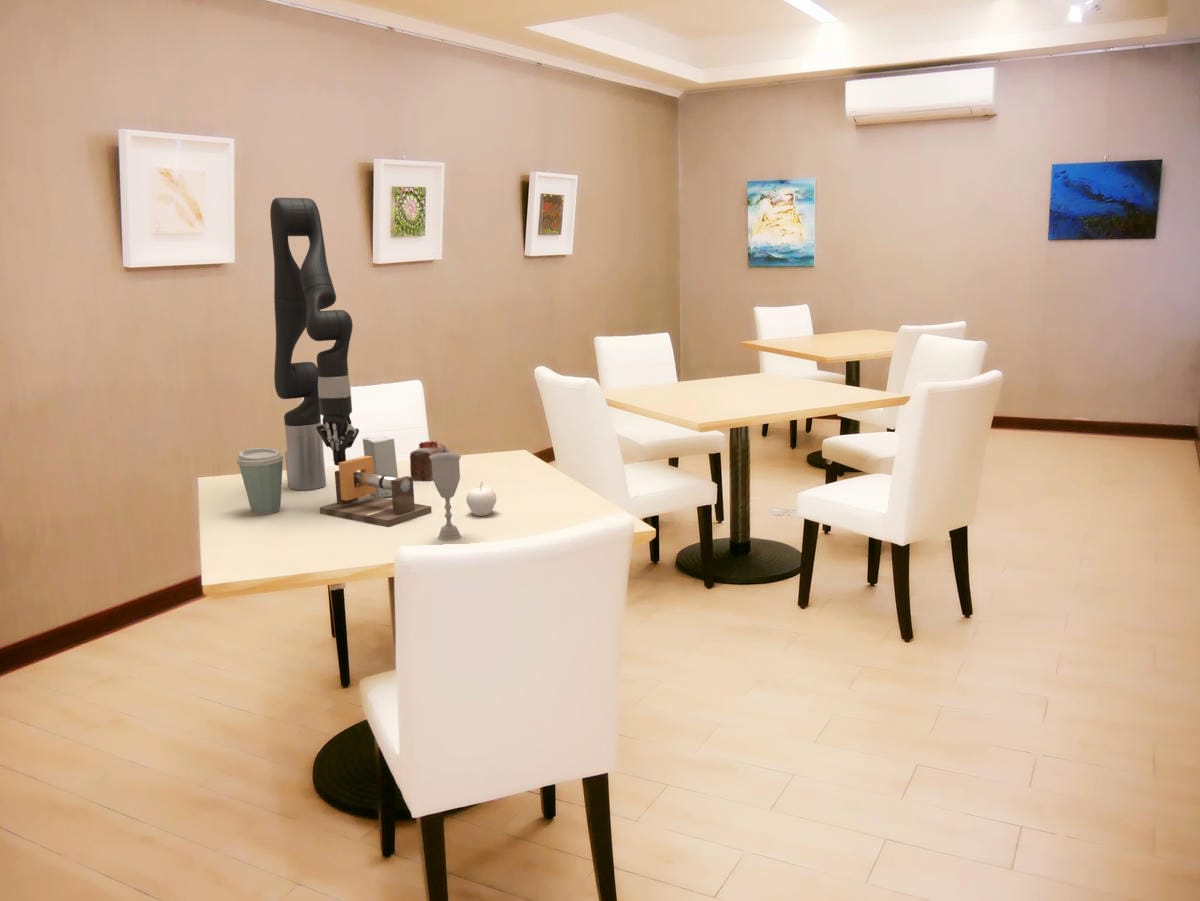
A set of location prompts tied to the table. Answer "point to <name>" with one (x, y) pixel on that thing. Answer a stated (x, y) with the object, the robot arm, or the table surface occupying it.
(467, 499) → the plain white apple
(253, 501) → the disposable coffee cup
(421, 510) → the pipe stand
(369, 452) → the skincare box
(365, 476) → the pipe
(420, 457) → the food item
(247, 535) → the table surface
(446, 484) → the chalice
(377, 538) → the table surface
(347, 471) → the square ring
